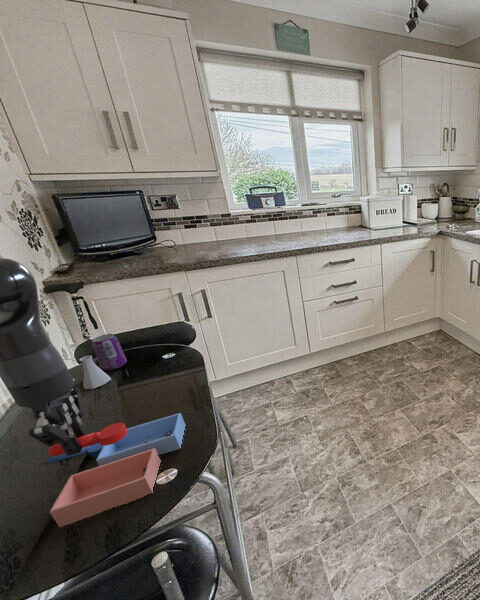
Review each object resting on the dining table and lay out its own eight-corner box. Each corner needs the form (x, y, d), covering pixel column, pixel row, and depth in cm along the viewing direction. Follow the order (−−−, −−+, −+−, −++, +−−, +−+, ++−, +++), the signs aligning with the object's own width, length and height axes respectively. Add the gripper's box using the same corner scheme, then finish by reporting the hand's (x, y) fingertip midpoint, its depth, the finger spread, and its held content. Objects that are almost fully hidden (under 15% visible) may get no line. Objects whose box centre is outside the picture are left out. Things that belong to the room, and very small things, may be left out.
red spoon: (46, 464, 60) (40, 455, 60) (57, 448, 64) (52, 440, 63) (124, 440, 65) (119, 431, 64) (130, 426, 69) (126, 418, 68)
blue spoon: (45, 473, 75) (41, 466, 74) (55, 459, 79) (50, 452, 78) (109, 453, 80) (105, 446, 79) (115, 441, 83) (111, 434, 83)
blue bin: (104, 475, 73) (96, 460, 72) (117, 448, 81) (109, 433, 79) (180, 449, 79) (174, 435, 77) (186, 426, 87) (180, 412, 85)
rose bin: (60, 528, 62) (49, 512, 61) (79, 490, 70) (70, 475, 68) (153, 494, 68) (145, 478, 66) (161, 462, 75) (155, 447, 74)
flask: (91, 391, 106) (78, 365, 102) (78, 388, 108) (65, 362, 105) (116, 378, 112) (104, 353, 108) (103, 375, 115) (92, 351, 111)
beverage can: (131, 360, 124) (119, 331, 120) (120, 370, 118) (107, 340, 113) (111, 362, 123) (98, 334, 119) (98, 373, 117) (84, 343, 112)
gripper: (29, 361, 62) (69, 432, 68) (-21, 402, 50) (34, 483, 56) (79, 350, 65) (113, 419, 71) (43, 386, 53) (88, 466, 59)
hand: (78, 447), depth 64 cm, fingers closed on red spoon, 2 cm apart
